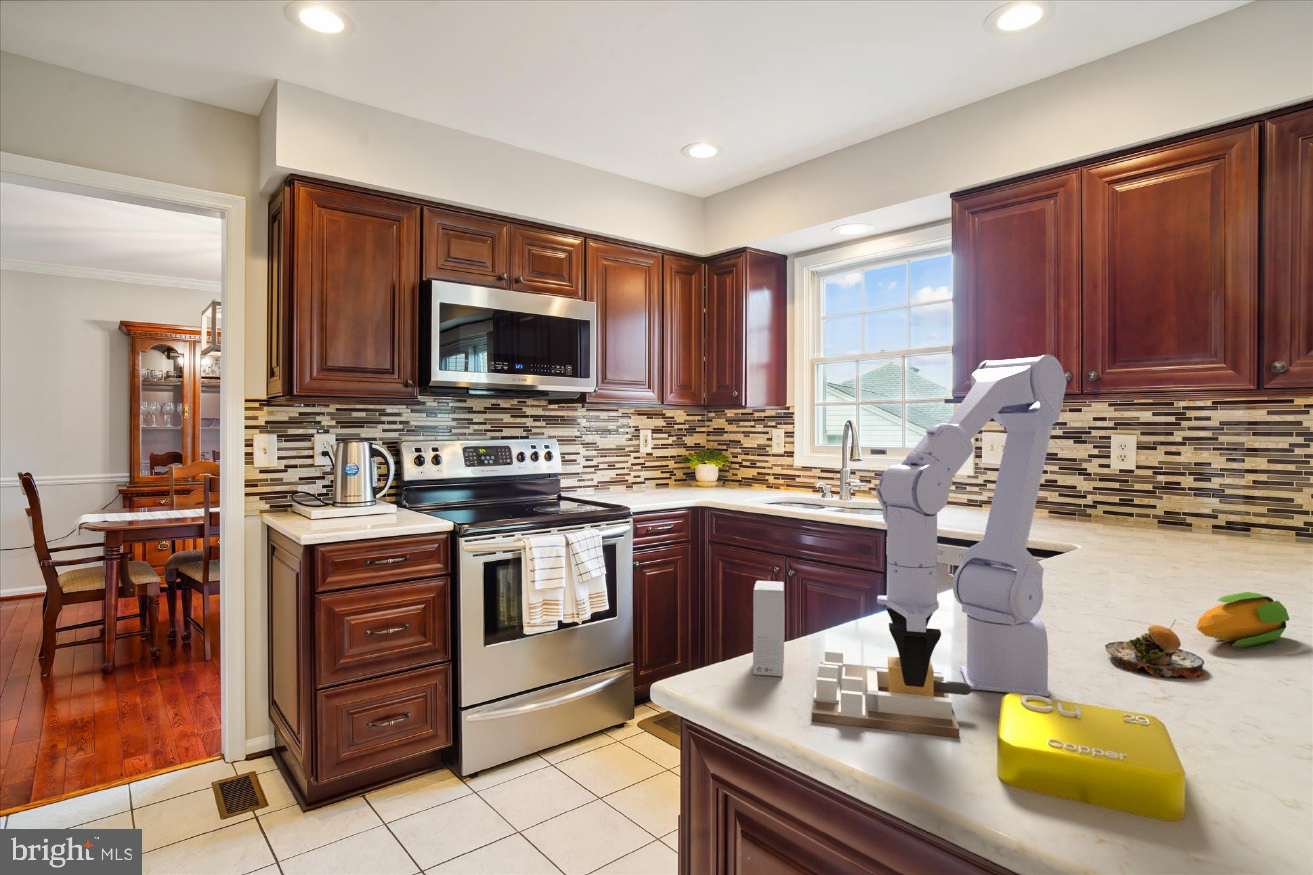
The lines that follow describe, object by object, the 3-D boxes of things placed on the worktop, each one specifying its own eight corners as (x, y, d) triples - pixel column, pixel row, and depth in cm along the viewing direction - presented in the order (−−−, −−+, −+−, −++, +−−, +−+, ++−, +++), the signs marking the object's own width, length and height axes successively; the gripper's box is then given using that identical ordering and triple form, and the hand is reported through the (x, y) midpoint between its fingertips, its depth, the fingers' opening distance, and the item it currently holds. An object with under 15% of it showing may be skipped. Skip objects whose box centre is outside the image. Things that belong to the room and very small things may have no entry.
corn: (1301, 592, 110) (1230, 605, 102) (1305, 640, 110) (1234, 658, 101) (1246, 585, 117) (1175, 598, 108) (1249, 630, 116) (1178, 646, 108)
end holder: (942, 689, 87) (942, 673, 87) (951, 719, 78) (951, 702, 78) (866, 681, 90) (866, 666, 90) (867, 710, 81) (867, 693, 81)
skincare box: (783, 677, 95) (783, 590, 94) (752, 675, 95) (752, 589, 95) (784, 662, 101) (784, 581, 100) (755, 660, 101) (755, 579, 101)
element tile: (995, 786, 66) (996, 737, 66) (1002, 726, 80) (1002, 685, 80) (1189, 829, 59) (1190, 774, 59) (1161, 756, 72) (1162, 711, 72)
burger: (1147, 649, 106) (1148, 601, 106) (1227, 676, 95) (1228, 622, 95) (1084, 656, 104) (1084, 606, 103) (1158, 684, 92) (1158, 629, 92)
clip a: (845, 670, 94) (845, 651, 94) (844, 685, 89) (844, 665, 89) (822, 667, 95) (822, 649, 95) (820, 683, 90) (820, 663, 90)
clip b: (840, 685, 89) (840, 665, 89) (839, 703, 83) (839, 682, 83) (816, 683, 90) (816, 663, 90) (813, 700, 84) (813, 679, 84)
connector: (968, 699, 84) (968, 663, 84) (973, 712, 80) (973, 674, 80) (887, 691, 87) (887, 656, 87) (889, 703, 83) (889, 666, 83)
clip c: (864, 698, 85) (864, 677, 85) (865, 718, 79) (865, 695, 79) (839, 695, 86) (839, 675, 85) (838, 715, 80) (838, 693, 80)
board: (941, 679, 93) (941, 672, 93) (959, 737, 76) (959, 728, 76) (820, 668, 98) (820, 661, 98) (811, 720, 81) (811, 712, 81)
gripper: (876, 551, 92) (876, 652, 92) (879, 573, 78) (878, 692, 78) (932, 553, 90) (932, 656, 90) (946, 577, 76) (945, 699, 76)
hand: (911, 674), depth 84 cm, fingers open, 7 cm apart
